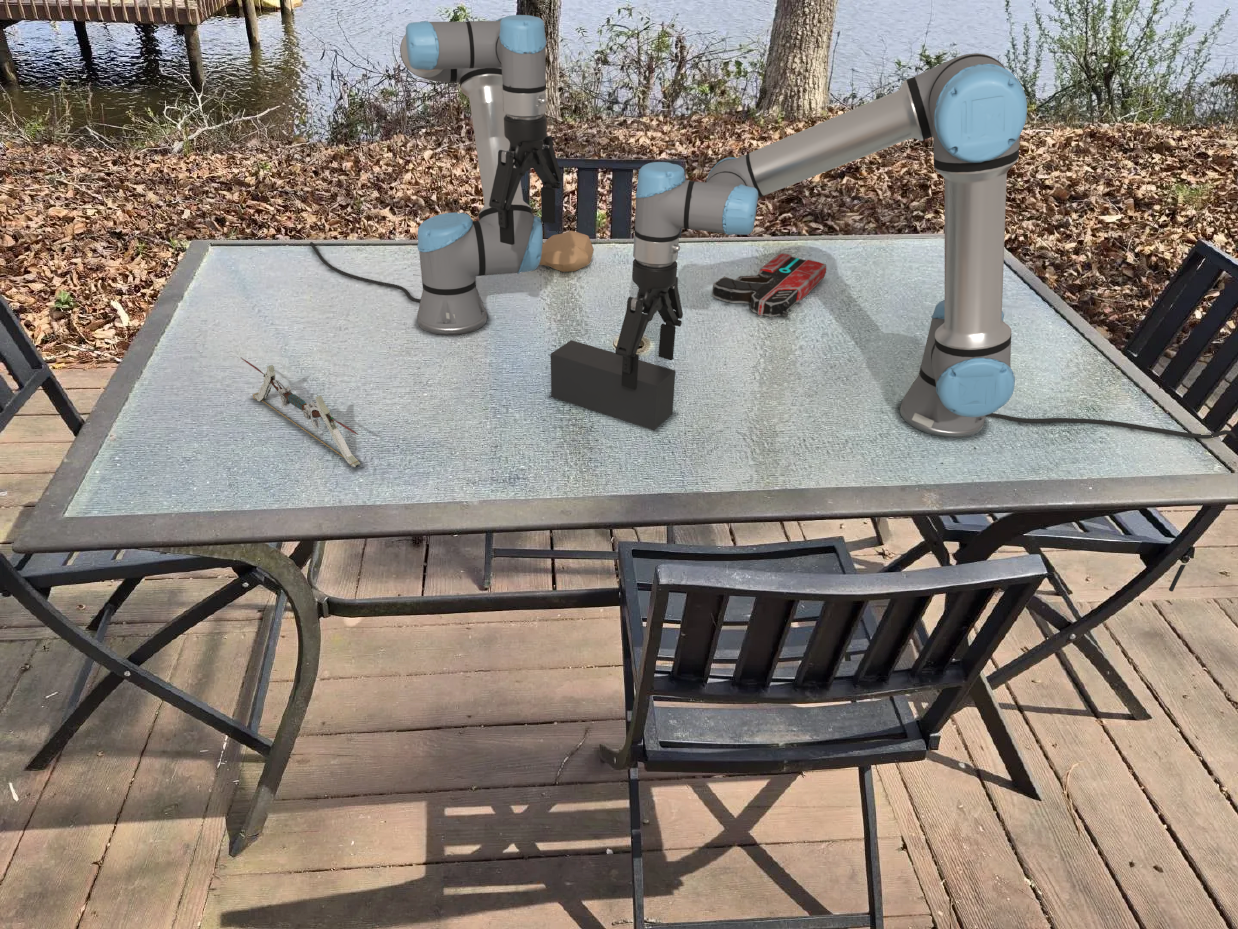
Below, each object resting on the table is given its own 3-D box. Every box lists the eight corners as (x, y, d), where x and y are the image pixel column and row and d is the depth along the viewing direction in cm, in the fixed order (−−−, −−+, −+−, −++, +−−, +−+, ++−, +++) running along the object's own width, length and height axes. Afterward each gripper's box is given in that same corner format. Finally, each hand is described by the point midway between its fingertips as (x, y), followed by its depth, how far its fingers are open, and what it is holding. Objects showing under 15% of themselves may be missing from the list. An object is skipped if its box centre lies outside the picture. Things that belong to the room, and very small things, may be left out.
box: (551, 396, 170) (550, 353, 165) (571, 382, 175) (571, 339, 170) (654, 430, 160) (656, 385, 155) (672, 414, 165) (675, 370, 160)
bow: (370, 470, 147) (362, 419, 141) (361, 474, 146) (352, 423, 140) (254, 390, 168) (243, 343, 163) (245, 394, 167) (233, 346, 162)
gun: (708, 284, 207) (784, 305, 199) (760, 245, 229) (831, 262, 221) (706, 302, 209) (781, 323, 201) (758, 261, 231) (828, 278, 223)
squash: (595, 275, 222) (590, 243, 216) (517, 282, 224) (510, 251, 218) (596, 253, 230) (591, 222, 224) (521, 260, 232) (514, 229, 225)
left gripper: (500, 133, 144) (505, 256, 156) (580, 104, 161) (580, 217, 174) (463, 126, 146) (472, 248, 159) (546, 98, 164) (548, 210, 177)
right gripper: (637, 288, 136) (631, 406, 148) (707, 243, 155) (697, 351, 166) (596, 277, 140) (593, 393, 151) (670, 234, 158) (662, 341, 169)
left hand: (528, 232), depth 166 cm, fingers open, 13 cm apart
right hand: (647, 372), depth 159 cm, fingers open, 13 cm apart
